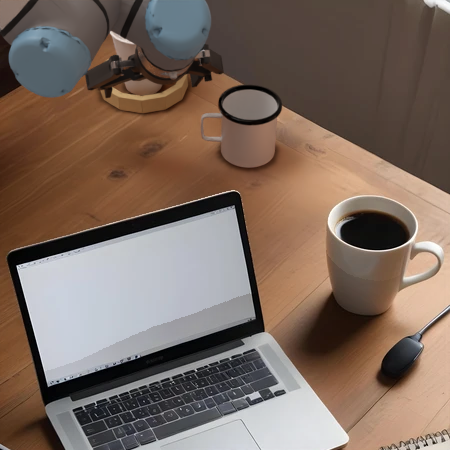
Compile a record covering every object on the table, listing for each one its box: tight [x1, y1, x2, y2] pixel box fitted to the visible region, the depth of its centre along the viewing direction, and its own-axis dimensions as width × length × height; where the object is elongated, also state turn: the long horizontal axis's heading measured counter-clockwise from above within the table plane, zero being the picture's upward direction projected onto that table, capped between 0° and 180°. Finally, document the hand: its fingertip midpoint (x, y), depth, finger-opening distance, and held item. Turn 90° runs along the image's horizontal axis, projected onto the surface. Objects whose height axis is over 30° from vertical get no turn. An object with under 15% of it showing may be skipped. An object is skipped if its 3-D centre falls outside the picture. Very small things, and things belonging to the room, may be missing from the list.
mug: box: [200, 83, 283, 168], centre depth 126 cm, size 12×10×9 cm
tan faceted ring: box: [99, 58, 189, 114], centre depth 139 cm, size 14×14×2 cm
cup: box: [109, 31, 163, 96], centre depth 136 cm, size 10×10×11 cm
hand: (150, 83), depth 130 cm, fingers open, 13 cm apart
